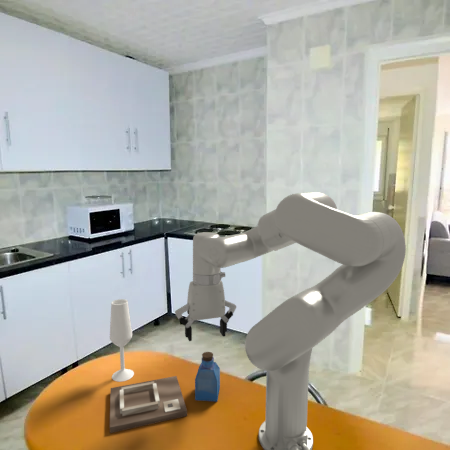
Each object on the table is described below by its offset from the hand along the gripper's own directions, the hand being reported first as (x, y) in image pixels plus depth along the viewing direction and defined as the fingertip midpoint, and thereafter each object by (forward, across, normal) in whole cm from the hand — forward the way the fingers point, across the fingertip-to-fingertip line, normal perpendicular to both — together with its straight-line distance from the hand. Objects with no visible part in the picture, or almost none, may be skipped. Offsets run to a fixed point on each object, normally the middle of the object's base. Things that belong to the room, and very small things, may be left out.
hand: (206, 336), depth 93 cm
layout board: (+17, +16, 0) cm, 24 cm away
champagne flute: (+18, +22, -16) cm, 33 cm away
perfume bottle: (+17, 0, +1) cm, 17 cm away
